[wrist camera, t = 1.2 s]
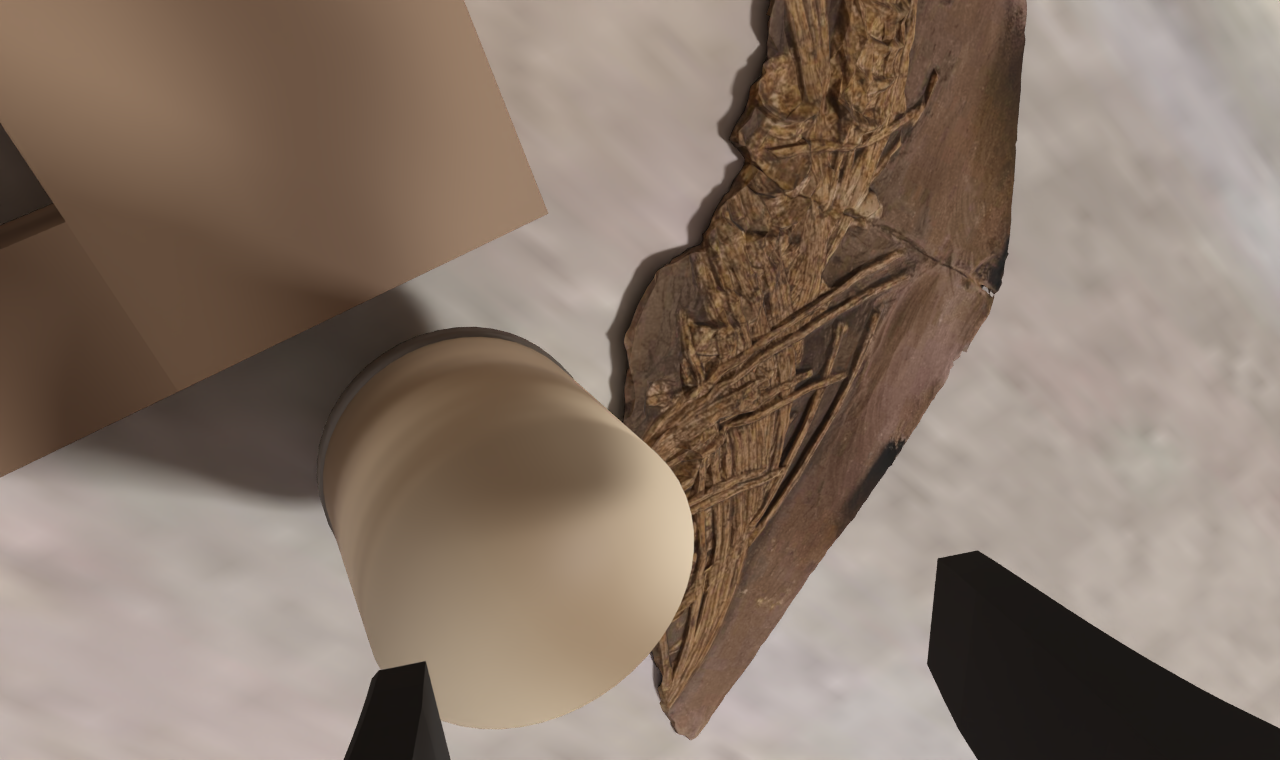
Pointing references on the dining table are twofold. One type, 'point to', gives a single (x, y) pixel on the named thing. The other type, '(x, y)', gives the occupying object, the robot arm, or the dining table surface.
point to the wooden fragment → (822, 301)
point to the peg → (500, 526)
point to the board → (228, 186)
